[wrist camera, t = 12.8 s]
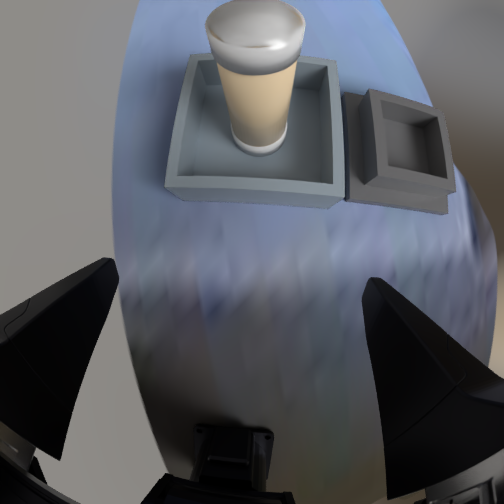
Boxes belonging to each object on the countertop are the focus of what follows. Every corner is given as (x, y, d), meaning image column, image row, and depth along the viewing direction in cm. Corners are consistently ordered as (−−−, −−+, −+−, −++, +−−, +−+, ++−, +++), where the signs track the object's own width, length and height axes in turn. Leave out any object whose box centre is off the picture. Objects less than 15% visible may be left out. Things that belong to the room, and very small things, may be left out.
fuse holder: (441, 215, 18) (466, 208, 15) (345, 201, 19) (362, 190, 15) (430, 120, 18) (449, 104, 15) (341, 98, 19) (352, 74, 15)
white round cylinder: (293, 148, 18) (322, 40, 7) (242, 163, 18) (219, 61, 7) (274, 106, 18) (282, -8, 7) (226, 120, 18) (196, 9, 7)
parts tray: (328, 209, 19) (344, 197, 15) (183, 200, 19) (164, 187, 15) (325, 89, 19) (336, 60, 15) (200, 83, 19) (190, 54, 15)
